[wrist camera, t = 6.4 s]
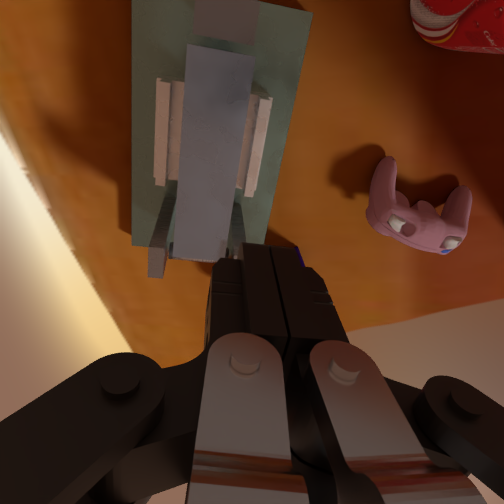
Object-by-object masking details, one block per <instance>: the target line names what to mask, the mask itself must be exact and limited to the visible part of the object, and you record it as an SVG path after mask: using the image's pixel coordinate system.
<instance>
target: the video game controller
mask: <svg viewBox="0 0 504 504" xmlns="http://www.w3.org/2000/svg"><path fill="white" fill-rule="evenodd" d="M396 174H397V167H396V161H395V159H394V158H393V157H391V156H387V157H385V158H383V159H382V160H381V161H380V162H379V164H378V166H377V167H376V170H375V172H374V174H373V177H372V181H371V186H370V192H369V206H368V208H367V209H366V218H367V220H368V222H369V224H370V225H371V226H372V227H373V228H374V229H375V230H376V231H377V232H379V233H380V234H382V235H385V236H391V237H393V238H394V239H396V240H398V241H400V242H402V243H404V244H406V245H408V246H411V247H413V248H416V249H419V250H423V251H428V252H435V253H438V254H441V255H445V254H447V253H449V252H450V251H452V250H453V249H455V248H456V247H458V246H459V245H460V244H461V242H462V241H463V239H464V238H465V237H466V234H467V228H468V220H469V215H470V210H471V204H472V194H471V191H470V189H469V188H468V187H467V186H464V185H462V186H459V187H456V188H455V189H454V190H453V191H452V192H451V193H450V195H449V197H448V198H447V200H446V203H445V205H444V207H443V210H442V213H441V216H439V215H438V213H437V212H436V210H435V209H434V207H433V206H432V205H431V204H430V203H428V202H426V201H423V200H421V201H418V202H417V203H416V204H415V205H413V206H412V207H411V208H410V207H409V206H410V205H409V201H408V199H407V197H406V196H405V195H403V194H402V193H401V192H399V191H396V190H395V183H396Z"/></svg>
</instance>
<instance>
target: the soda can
mask: <svg viewBox="0 0 504 504" xmlns="http://www.w3.org/2000/svg"><path fill="white" fill-rule="evenodd" d="M410 11H411V17H412V22H413V24H414V27H415V29H416V31H417V32H418V34H419V35H420V36H421V37H422V39H424V40H425V41H426V42H428V43H430V44H432V45H434V46H437V47H441V48H444V49H449V50H455V51H465V52H477V53H490V54H504V0H410Z"/></svg>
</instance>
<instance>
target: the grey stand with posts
mask: <svg viewBox="0 0 504 504" xmlns="http://www.w3.org/2000/svg"><path fill="white" fill-rule="evenodd" d="M312 17H313V13H312V12H307V11H303V10H298V9H293V8H289V7H284V6H280V5H275V4H270V3H266V2H261V1H258V0H132V245H133V246H143V247H149V251H148V277H152V278H163V275H164V270H165V266H166V261H167V256H168V252H169V246H170V242H174V230H175V215H176V200H177V186H178V171H179V157H180V142H181V127H182V113H183V98H184V83H185V69H186V54H187V44H188V43H189V44H194V45H200V46H205V47H210V48H215V49H220V50H226V51H231V52H236V53H241V54H247V55H252V56H255V57H256V59H255V66H254V72H253V79H252V85H251V91H250V98H249V104H248V111H247V117H246V124H245V130H244V137H243V143H242V150H241V156H240V162H239V169H238V175H237V182H236V188H235V195H234V201H233V208H232V214H231V221H230V227H229V233H228V240H227V246H226V248H229V258H230V259H237V256H238V251H239V246H240V243H241V242H248V243H256V244H264V240H265V235H266V231H267V226H268V221H269V217H270V212H271V207H272V203H273V198H274V193H275V189H276V184H277V180H278V175H279V170H280V166H281V161H282V156H283V152H284V147H285V142H286V138H287V133H288V128H289V124H290V119H291V114H292V110H293V105H294V100H295V96H296V91H297V86H298V82H299V77H300V72H301V68H302V63H303V59H304V54H305V49H306V45H307V40H308V35H309V31H310V26H311V21H312Z"/></svg>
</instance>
